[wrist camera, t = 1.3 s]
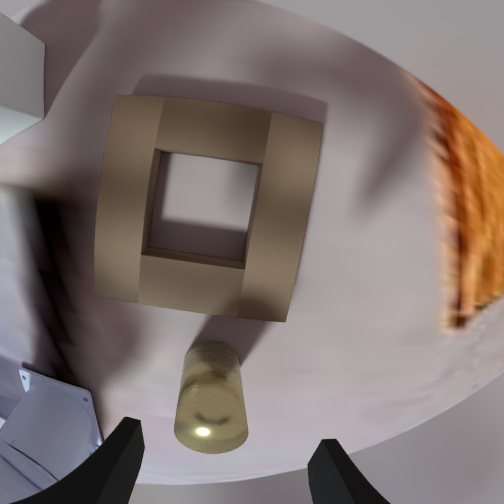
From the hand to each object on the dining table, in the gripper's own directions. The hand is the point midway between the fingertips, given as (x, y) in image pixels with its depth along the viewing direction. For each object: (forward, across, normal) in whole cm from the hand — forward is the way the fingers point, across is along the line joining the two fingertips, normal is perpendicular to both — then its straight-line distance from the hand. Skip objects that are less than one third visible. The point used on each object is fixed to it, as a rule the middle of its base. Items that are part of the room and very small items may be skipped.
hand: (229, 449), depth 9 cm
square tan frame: (+10, +3, -8) cm, 13 cm away
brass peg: (+10, +1, +4) cm, 11 cm away
